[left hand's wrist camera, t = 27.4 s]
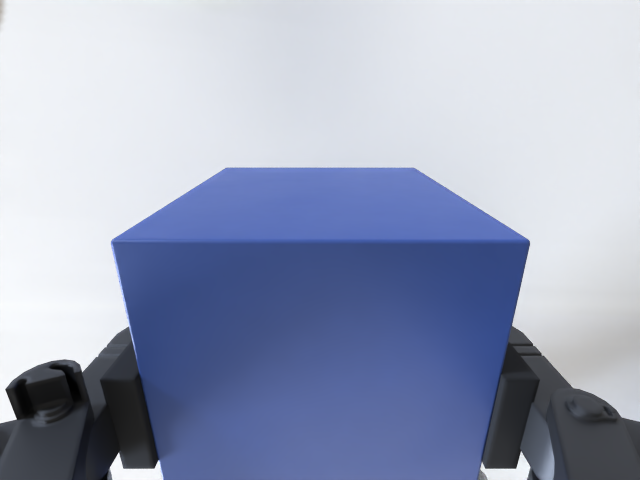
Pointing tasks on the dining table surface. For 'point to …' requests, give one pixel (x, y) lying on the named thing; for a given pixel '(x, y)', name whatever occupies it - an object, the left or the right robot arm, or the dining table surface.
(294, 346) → the block
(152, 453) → the left robot arm
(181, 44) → the dining table surface
